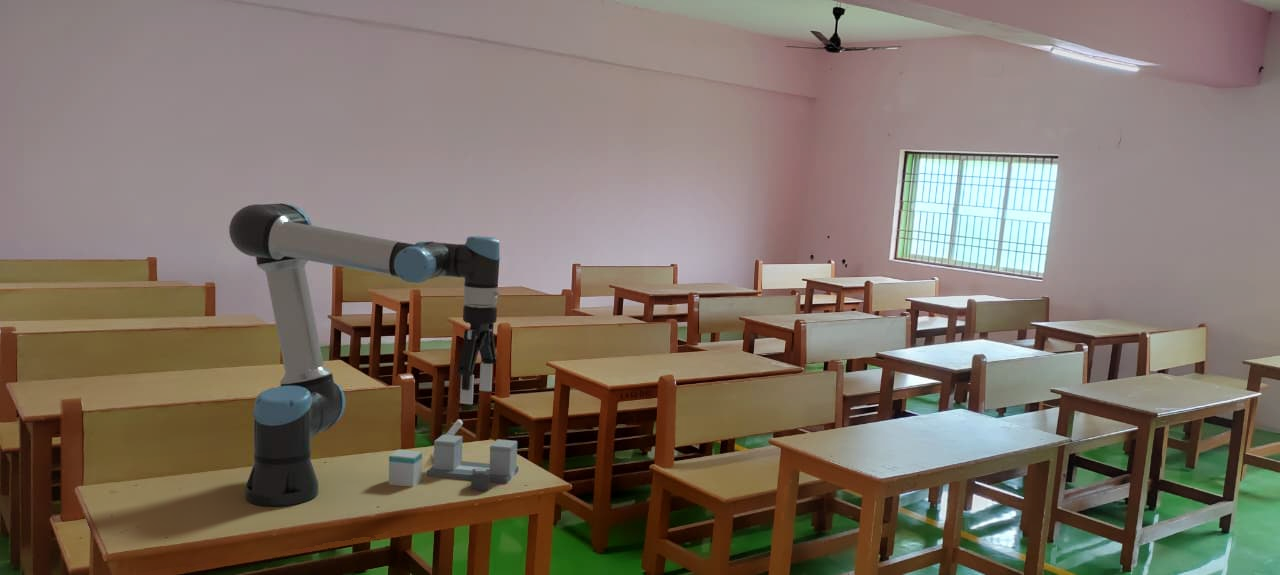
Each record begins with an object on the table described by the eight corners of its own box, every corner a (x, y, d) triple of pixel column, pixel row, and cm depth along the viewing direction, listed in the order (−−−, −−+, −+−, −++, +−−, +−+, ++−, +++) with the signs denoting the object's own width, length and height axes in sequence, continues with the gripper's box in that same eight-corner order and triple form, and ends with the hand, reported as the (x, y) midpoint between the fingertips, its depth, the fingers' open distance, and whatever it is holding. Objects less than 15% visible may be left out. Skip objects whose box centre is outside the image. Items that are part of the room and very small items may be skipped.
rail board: (426, 475, 224) (427, 442, 223) (441, 463, 234) (442, 432, 233) (507, 483, 221) (508, 449, 220) (518, 471, 231) (519, 438, 230)
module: (388, 484, 216) (389, 455, 215) (397, 478, 221) (397, 449, 220) (413, 487, 215) (414, 457, 215) (421, 480, 220) (422, 451, 220)
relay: (471, 491, 215) (471, 471, 214) (472, 485, 219) (472, 466, 218) (488, 491, 215) (489, 472, 215) (489, 485, 219) (489, 466, 219)
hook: (481, 440, 238) (459, 427, 235) (452, 475, 239) (430, 462, 236) (478, 427, 245) (457, 414, 242) (450, 461, 246) (428, 448, 243)
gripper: (478, 313, 197) (474, 411, 199) (512, 300, 221) (507, 387, 224) (445, 310, 198) (440, 407, 200) (481, 297, 222) (477, 384, 225)
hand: (476, 397), depth 212 cm, fingers open, 13 cm apart
